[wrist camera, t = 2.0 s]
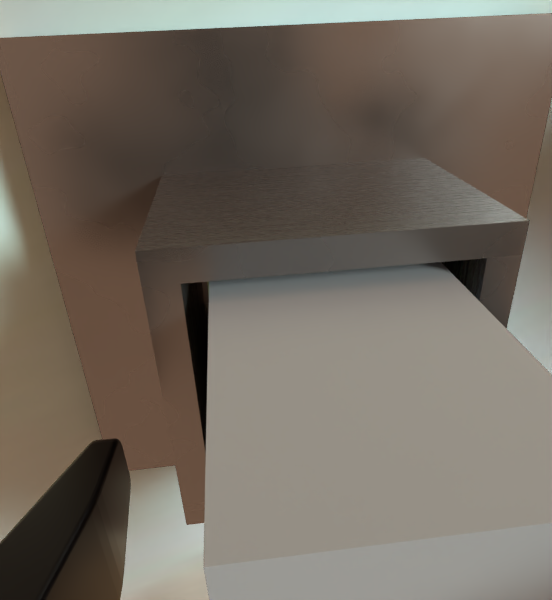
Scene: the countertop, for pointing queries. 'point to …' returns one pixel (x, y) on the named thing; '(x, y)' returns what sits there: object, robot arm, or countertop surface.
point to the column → (373, 442)
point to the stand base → (265, 182)
